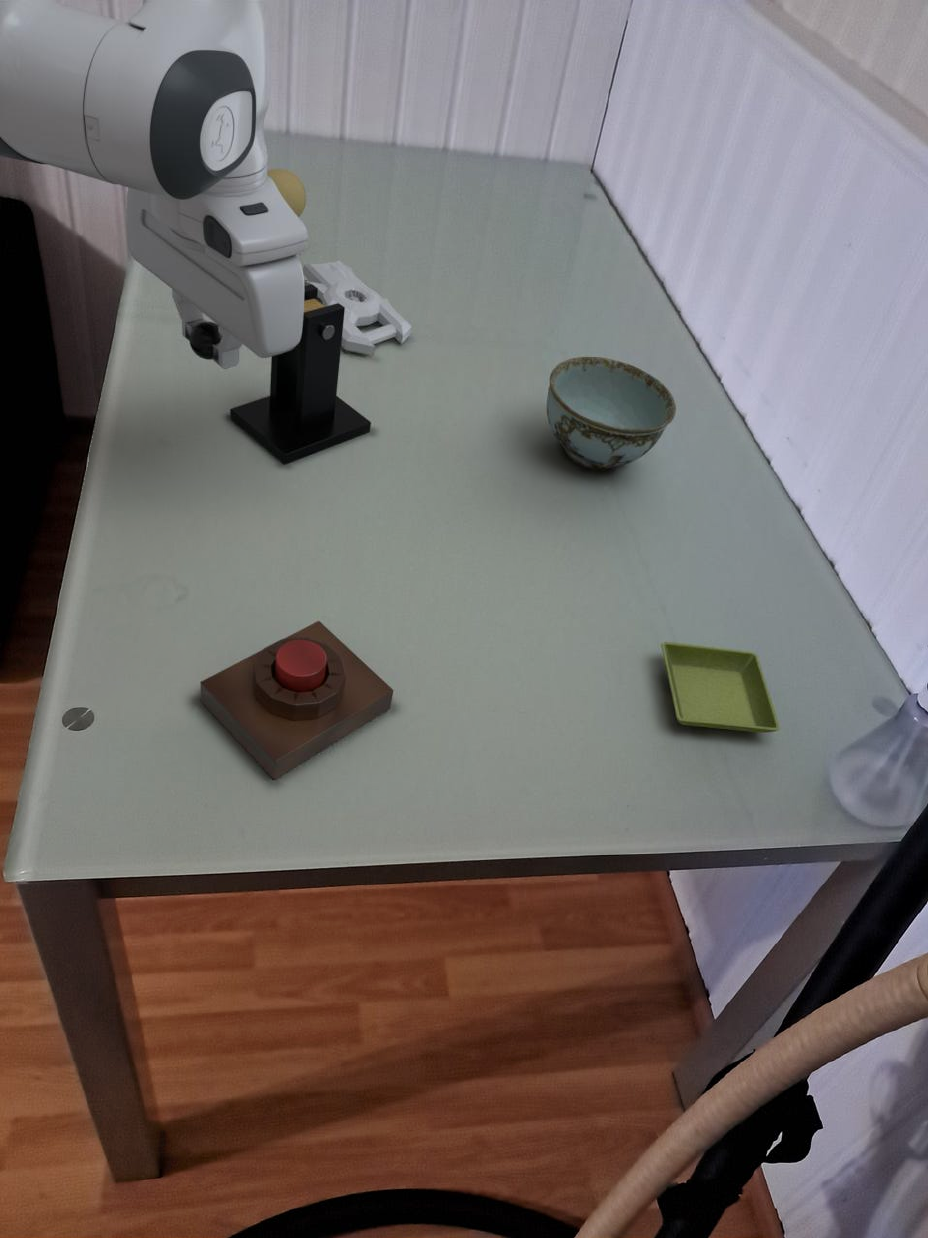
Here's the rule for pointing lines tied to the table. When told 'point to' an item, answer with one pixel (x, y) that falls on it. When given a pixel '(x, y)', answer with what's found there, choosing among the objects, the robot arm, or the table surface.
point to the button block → (295, 702)
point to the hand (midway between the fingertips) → (210, 351)
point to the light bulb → (289, 189)
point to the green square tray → (718, 688)
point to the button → (300, 665)
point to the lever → (209, 334)
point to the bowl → (606, 411)
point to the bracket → (304, 393)
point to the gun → (356, 306)
